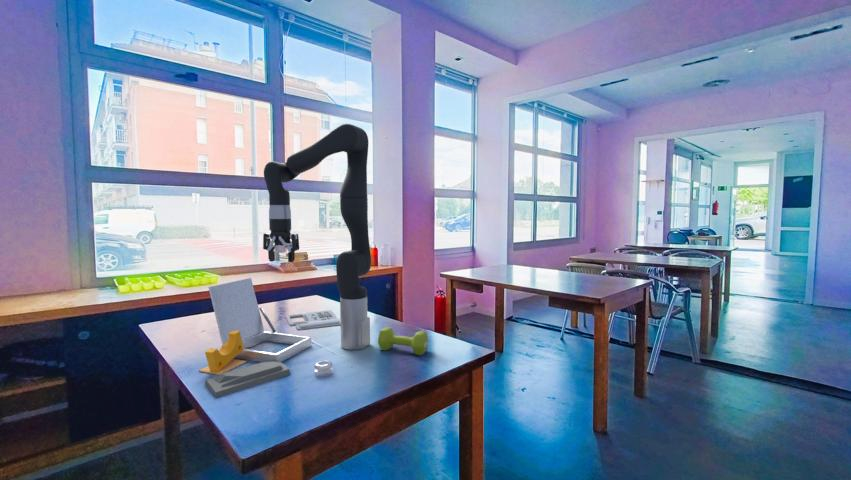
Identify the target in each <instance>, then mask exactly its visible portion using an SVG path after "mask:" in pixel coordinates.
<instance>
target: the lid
mask: <svg viewBox="0 0 851 480" xmlns="http://www.w3.org/2000/svg"><path fill="white" fill-rule="evenodd" d="M207 288H208V291H209V294H210V295H209V296H210V299H211V303H212V308H213V312H214V316H215V320H216V324H217V328H218V332H219V336H220V340H221V344H222V345H223V344H225V343H226V342H227V341H228V340H229V335H228V334H229V333H230V332H231V331H240V334H241V339H242V341H243V340H245V339H248V338H250V337H252V336H255V335H257V334H260V333H262V332H265V328H264V324H263V321H262V317H261V311H260V309H259V308H260V307H259V304H258V301H257V297H256V292H255V289H254V284H253V280H252V277H248V278H244V279H239V280H235V281H230V282H225V283H222V284H217V285H213V286H209V287H207ZM222 345H221V346H222Z"/></svg>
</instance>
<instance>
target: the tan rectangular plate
mask: <svg viewBox="0 0 851 480" xmlns="http://www.w3.org/2000/svg"><path fill="white" fill-rule="evenodd" d="M246 363H247V360H243V359H237V358H233V359H232V360H231V361H230V362H229V363H227V364H226V365H225V366H224V367H223V368H222V369H221V370H220V371H218V372H211V371H210V369H209V365H206V366H205V367H203V368H201V369H199V370H198V372H200V373H201V372H202V373H205V374H211V375H217V376H219V375H220V374H222V373H226V372H229V371H233V370H235V369H236V368H238V367H240V366H242V365H244V364H246Z"/></svg>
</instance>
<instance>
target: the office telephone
mask: <svg viewBox="0 0 851 480" xmlns="http://www.w3.org/2000/svg"><path fill="white" fill-rule="evenodd" d="M285 318H286V321H287V324H288V325H289V327H293V326H294V327H295V329H296V330H297V331H303V330H313V329H324V328H330V327H338V326H340V327H341V321H340V319H339V318H338V317H337V316H336V315H335V313H334V312H333V310H330V309H329V310H320V311H313V312H311V311H310V312H306V313H299V314H291V315H289V314H287V315H286V317H285ZM296 318H303V319H304V320H303V321H294V322H293V321H292V319H296Z"/></svg>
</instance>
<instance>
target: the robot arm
mask: <svg viewBox="0 0 851 480" xmlns="http://www.w3.org/2000/svg"><path fill="white" fill-rule="evenodd" d="M343 152H344V153H346V160H347V161H346V162H347V169H346V173H345V177H344V179H343V182H342V185H341V188H340V192H339V198H340V199H339V205H340V206H339V209H340V214H341V217H342V219H343V221H344V224H345V226H346V227H347V230H348V231H349V235H350V240H351V241H350V242H351V249H350V250H346V251H343V252H341V253H340V254H338V256H337V258H336V262H335V263H336V264H335V265H336V266H335V271H336V285H337V289H338V291H339V300H340V301H339V306H340V307H339V311H340V313H339V316H340V319H339V321H340V322H341V325H340V346H341V348H342V349H345V350H350V351H351V350H353V351H354V350H363V349H365V348H366V347H367V346H369V345H371V319H370V317H369V316H368V289H367V288H366V286H362V285H360V279H359V277H361V276H366V275H367V274H369V271H370V270H371V267H372V253H371V248H370V247H371V246H370V238H369V237H370V235H369V221H368V217H369V216H368V215H369V214H368V210H369V209H368V208H369V206H368V203H369V202H368V200H369V199H368V169H367V168H368V155H369V136H368V134H367V132H366V130H364V129H363V128H361V127H359V126H357V125H354V124H351V123H342V124H340V125H339V126H337V127H336V128H334V129H333V130H332V131H330V132H329V133H327V134H326V135H325V136H323V137H322V138H321V139H319V140H318V141H316V142H314V143H313V144H311V145H309V146H307V147H305V148H303V149H301V150H298V151H297V152H295V153H293V154H291V155H289V156H288V157H287V159H286V162H279V161H268V162H267V163H266V165H265V166H264V169H263V178H264V180H265V181H264V182H265V185H266V189H267V192H268V194H269V196H268V200H269V201H268V202H269V208H268V220H269V221H268V223H269V227H268V228H269V231H270V232H269V233H268V232H266V233H263V237H262V239H263V240H262V241H263V242H262V243H263V244H262V248H263V250H266V251H267V252H268V261H269V262H275V261H276V256H275V255H276V253H275V249H276V248H277V247H278V246H283V247H284V248H285V249H286V250H287V258H288V259H287V260H288V263H294V261H296V260H295V255H296V254H295V252H296V251H299V250H300V242H299V241H300V239H299V238H300V237H299V234H298V233H292V232H291V231H292V211H291V204H290V203H291V199H290V198H291V196H290V190H288V189H286V188H284V186H283V183H288V182H291V181H293V180H294V179H295V178H296V177H298V176H300V174H302V173H305V172H308V171H310V170H311V169H313V168H315V167H317V166H319V164H320V163H322V161H323V160H324V159H326V158H327V157H329V156H332V155H335V154H337V153H343Z"/></svg>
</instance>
